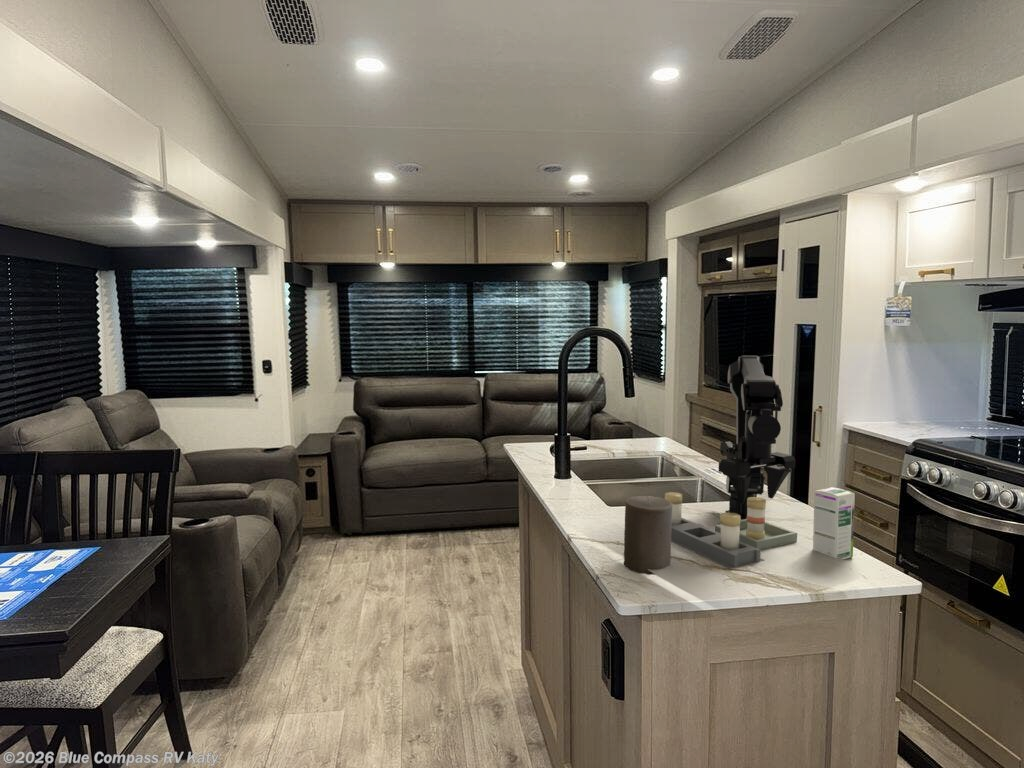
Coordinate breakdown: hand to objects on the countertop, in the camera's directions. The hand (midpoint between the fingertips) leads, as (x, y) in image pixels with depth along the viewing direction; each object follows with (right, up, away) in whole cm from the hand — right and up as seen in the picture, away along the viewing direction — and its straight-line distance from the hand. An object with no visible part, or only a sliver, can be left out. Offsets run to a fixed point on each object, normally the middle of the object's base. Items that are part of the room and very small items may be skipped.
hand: (756, 500), depth 144 cm
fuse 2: (-10, -10, -10) cm, 17 cm away
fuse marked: (0, -9, +1) cm, 9 cm away
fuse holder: (-14, -10, -2) cm, 17 cm away
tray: (0, -10, +1) cm, 10 cm away
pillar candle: (-28, -12, -12) cm, 32 cm away
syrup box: (+13, -11, -8) cm, 19 cm away
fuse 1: (-18, -8, +6) cm, 20 cm away
